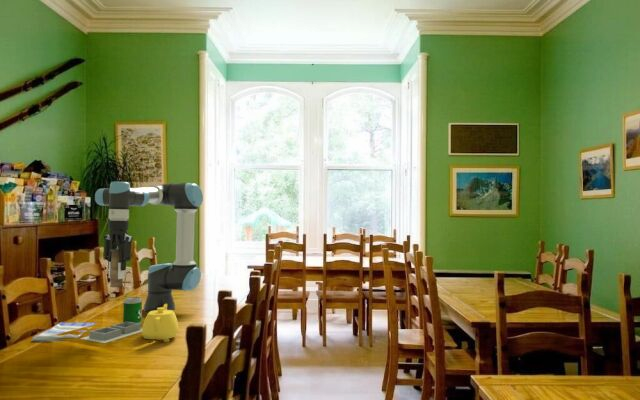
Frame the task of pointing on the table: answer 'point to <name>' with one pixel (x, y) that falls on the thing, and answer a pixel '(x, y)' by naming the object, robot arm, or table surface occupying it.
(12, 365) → the table surface
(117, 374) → the table surface
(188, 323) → the table surface
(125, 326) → the board
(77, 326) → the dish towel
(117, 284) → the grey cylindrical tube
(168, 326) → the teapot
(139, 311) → the soda can
